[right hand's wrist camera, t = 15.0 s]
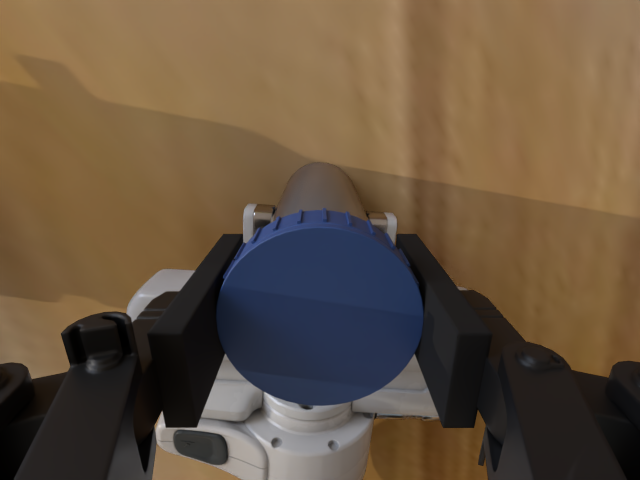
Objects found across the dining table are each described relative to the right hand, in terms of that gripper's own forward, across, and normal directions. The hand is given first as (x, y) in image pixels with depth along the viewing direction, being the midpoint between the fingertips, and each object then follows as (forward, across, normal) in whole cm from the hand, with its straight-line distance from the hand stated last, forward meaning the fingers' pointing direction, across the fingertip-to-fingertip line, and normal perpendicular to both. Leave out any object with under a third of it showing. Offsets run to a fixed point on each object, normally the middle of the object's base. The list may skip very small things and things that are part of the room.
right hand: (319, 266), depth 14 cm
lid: (-4, 0, 0) cm, 4 cm away
